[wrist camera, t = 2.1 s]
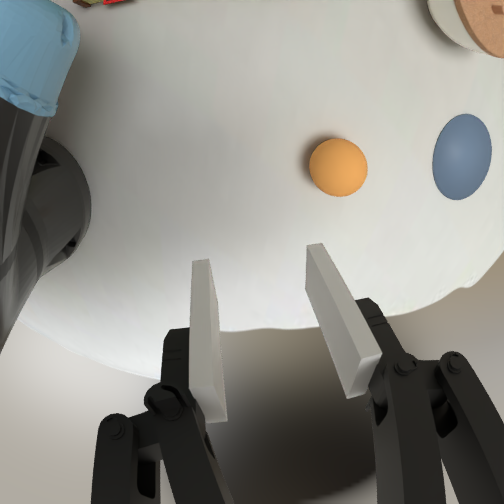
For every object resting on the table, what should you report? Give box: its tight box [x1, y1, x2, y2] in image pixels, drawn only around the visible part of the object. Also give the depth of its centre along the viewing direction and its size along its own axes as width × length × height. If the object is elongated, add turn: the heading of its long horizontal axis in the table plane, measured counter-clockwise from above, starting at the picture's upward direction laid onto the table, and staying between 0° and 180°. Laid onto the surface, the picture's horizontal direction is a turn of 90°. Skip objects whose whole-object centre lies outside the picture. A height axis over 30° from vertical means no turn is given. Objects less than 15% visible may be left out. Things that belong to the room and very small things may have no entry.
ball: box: [309, 139, 367, 197], centre depth 26 cm, size 6×6×6 cm
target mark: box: [433, 114, 492, 200], centre depth 30 cm, size 12×12×1 cm
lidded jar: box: [427, 0, 504, 58], centre depth 15 cm, size 11×11×9 cm
